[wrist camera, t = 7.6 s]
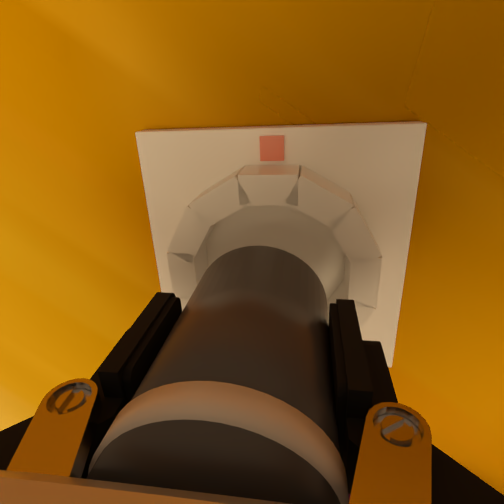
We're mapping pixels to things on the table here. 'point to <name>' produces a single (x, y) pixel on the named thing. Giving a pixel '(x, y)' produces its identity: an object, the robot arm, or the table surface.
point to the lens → (238, 391)
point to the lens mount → (290, 206)
